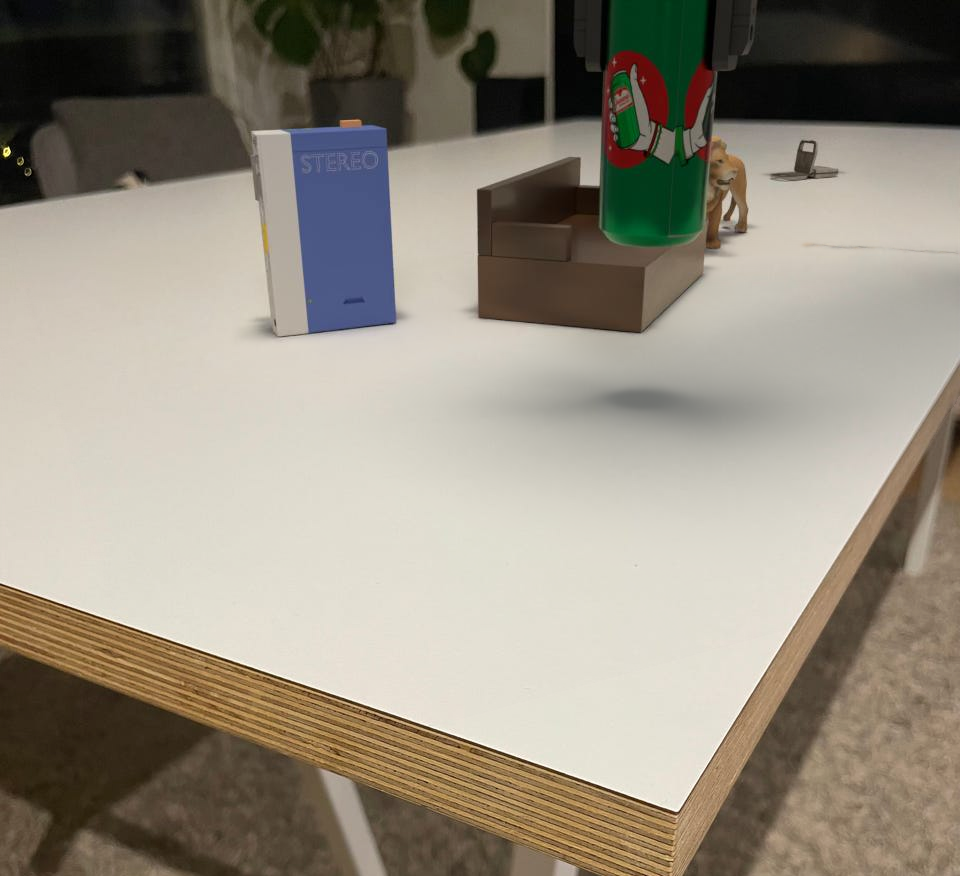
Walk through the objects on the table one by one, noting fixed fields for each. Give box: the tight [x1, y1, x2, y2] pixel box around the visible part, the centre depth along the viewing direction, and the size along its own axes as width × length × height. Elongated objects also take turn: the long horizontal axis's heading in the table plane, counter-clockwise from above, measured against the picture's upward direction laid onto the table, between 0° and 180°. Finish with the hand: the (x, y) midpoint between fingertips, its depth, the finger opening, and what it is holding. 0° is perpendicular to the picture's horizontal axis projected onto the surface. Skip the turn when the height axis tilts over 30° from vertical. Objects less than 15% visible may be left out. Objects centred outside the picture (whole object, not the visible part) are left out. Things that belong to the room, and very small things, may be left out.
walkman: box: [250, 119, 397, 338], centre depth 64 cm, size 8×3×12 cm, turn 112°
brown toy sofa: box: [476, 156, 708, 334], centre depth 72 cm, size 11×18×8 cm, turn 157°
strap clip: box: [769, 138, 839, 181], centre depth 124 cm, size 8×3×4 cm, turn 115°
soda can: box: [598, 0, 718, 247], centre depth 47 cm, size 5×5×12 cm
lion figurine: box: [705, 135, 749, 249], centre depth 89 cm, size 15×5×9 cm, turn 159°
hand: (659, 68), depth 47 cm, fingers closed on soda can, 5 cm apart
